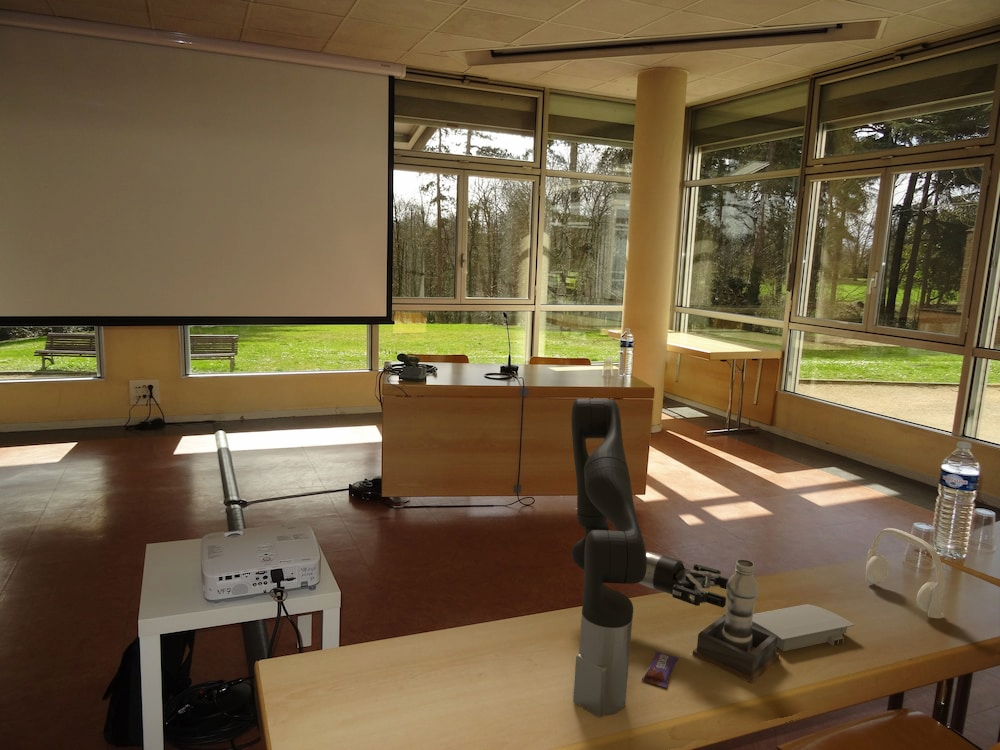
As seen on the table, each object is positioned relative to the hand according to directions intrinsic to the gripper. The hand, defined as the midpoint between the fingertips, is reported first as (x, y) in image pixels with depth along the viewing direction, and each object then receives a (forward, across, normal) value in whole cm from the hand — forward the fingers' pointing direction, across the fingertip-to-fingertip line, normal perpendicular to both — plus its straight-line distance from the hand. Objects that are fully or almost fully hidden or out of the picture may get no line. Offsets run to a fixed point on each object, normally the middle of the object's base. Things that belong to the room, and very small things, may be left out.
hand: (731, 594), depth 146 cm
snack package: (-9, -14, +14) cm, 22 cm away
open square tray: (+2, 0, +13) cm, 14 cm away
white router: (+10, +19, +14) cm, 26 cm away
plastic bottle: (+2, 0, +13) cm, 13 cm away
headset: (+28, +52, +14) cm, 60 cm away
